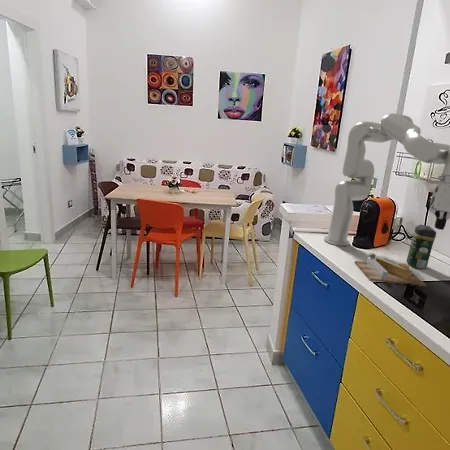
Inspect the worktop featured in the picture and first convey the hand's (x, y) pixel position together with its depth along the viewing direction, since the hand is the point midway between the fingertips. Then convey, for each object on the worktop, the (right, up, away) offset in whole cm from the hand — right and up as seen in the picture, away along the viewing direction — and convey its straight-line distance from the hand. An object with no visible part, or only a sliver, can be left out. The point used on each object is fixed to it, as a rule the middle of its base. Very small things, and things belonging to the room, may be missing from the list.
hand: (438, 228), depth 133 cm
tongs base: (-19, -18, +10) cm, 28 cm away
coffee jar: (+5, -17, +26) cm, 31 cm away
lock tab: (-8, -18, +12) cm, 23 cm away
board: (-14, -19, +11) cm, 26 cm away
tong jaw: (-13, -18, +11) cm, 25 cm away
